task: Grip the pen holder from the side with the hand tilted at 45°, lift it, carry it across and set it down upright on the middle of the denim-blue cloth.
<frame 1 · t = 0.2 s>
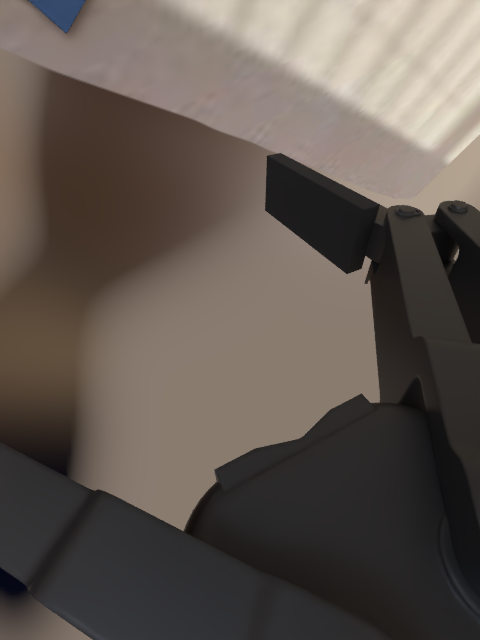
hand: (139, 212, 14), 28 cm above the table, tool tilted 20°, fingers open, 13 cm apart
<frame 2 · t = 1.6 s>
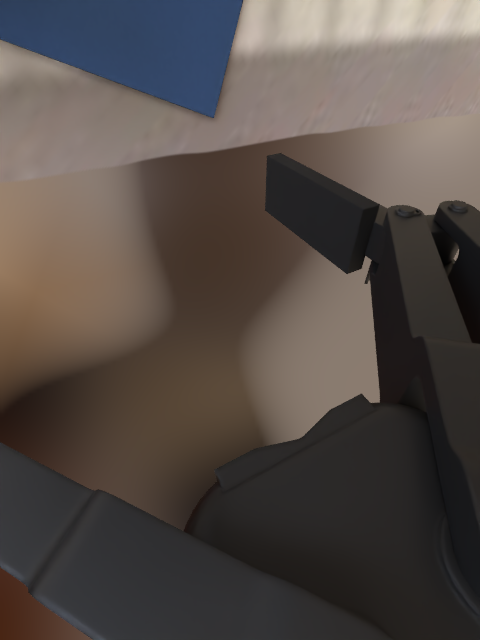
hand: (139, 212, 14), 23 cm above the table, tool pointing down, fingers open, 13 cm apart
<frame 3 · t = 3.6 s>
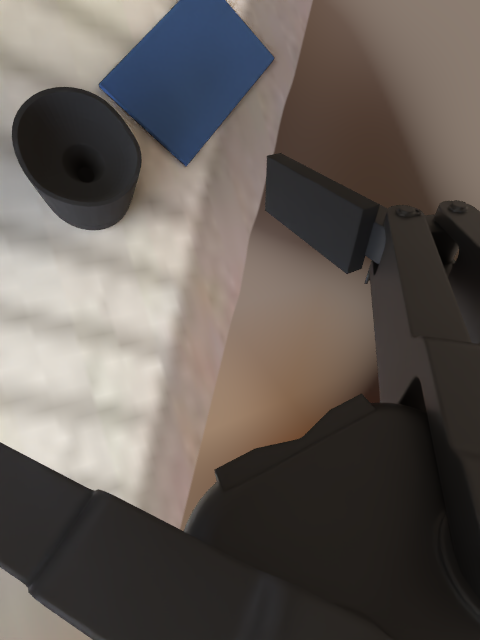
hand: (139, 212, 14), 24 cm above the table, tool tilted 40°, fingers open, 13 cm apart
pen holder: (89, 192, 35), on the table
blue cloth: (194, 72, 39), on the table
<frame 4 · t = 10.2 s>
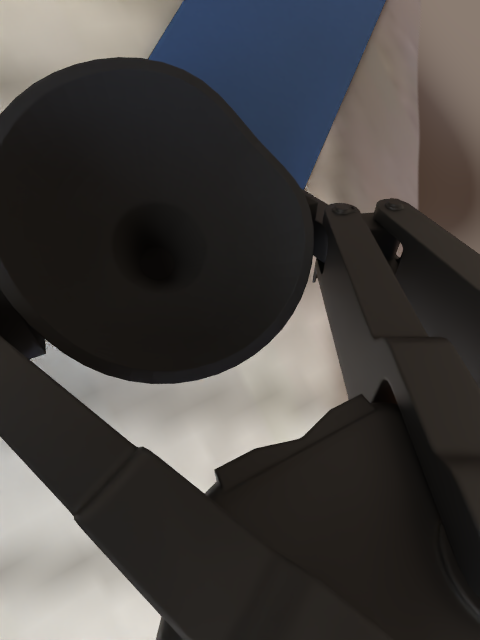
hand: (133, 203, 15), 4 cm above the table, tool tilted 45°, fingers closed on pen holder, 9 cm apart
pen holder: (152, 283, 19), on the table, touching gripper
blue cloth: (279, 33, 23), on the table
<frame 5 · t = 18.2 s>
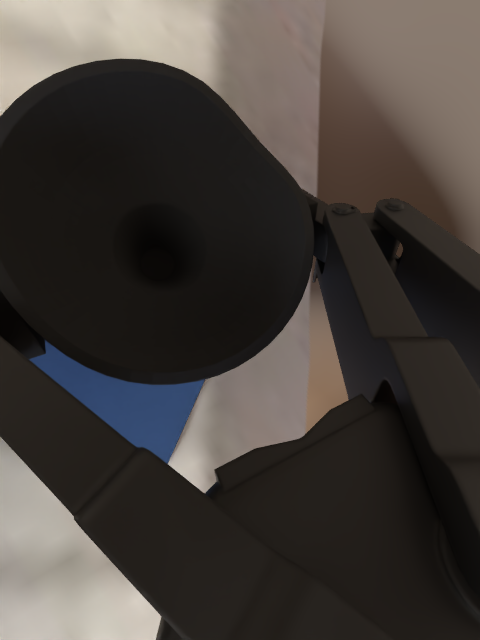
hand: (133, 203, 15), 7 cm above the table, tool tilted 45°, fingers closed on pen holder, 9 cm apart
pen holder: (152, 283, 19), point 3 cm above the table, touching gripper
blue cloth: (148, 290, 22), on the table
when the fingers open (4 cm above the table, at t = 19.6 s): pen holder stays where it is, resting on blue cloth.
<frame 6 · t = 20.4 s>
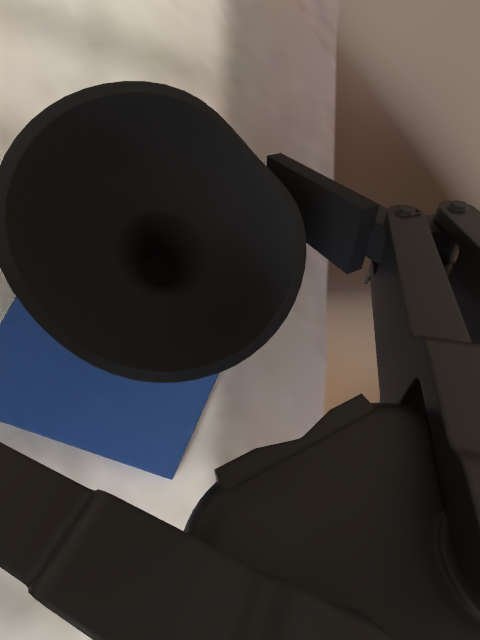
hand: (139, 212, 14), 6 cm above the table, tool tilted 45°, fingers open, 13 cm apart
pen holder: (154, 286, 20), resting on blue cloth
blue cloth: (152, 286, 20), on the table
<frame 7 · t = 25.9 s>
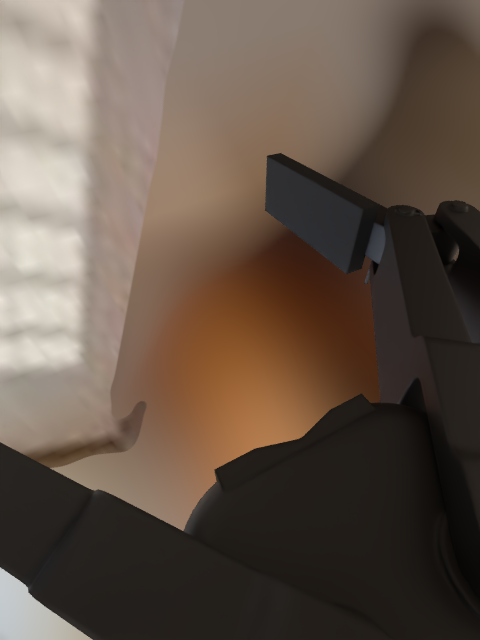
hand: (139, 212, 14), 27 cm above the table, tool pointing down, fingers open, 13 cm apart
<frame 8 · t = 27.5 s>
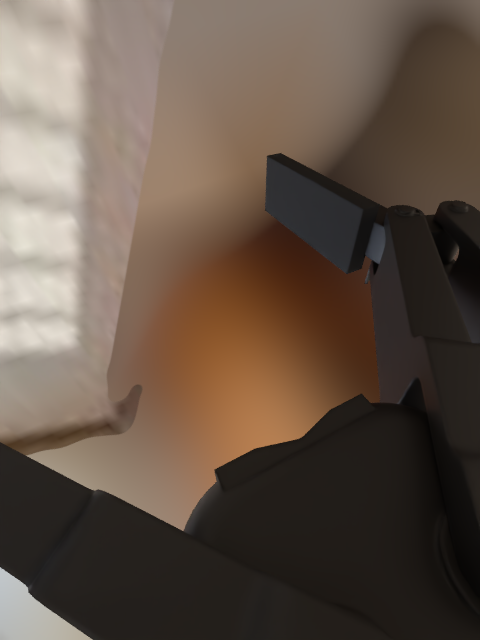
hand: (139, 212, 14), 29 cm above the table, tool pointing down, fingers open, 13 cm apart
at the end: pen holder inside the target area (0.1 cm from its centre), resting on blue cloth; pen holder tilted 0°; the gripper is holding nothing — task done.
